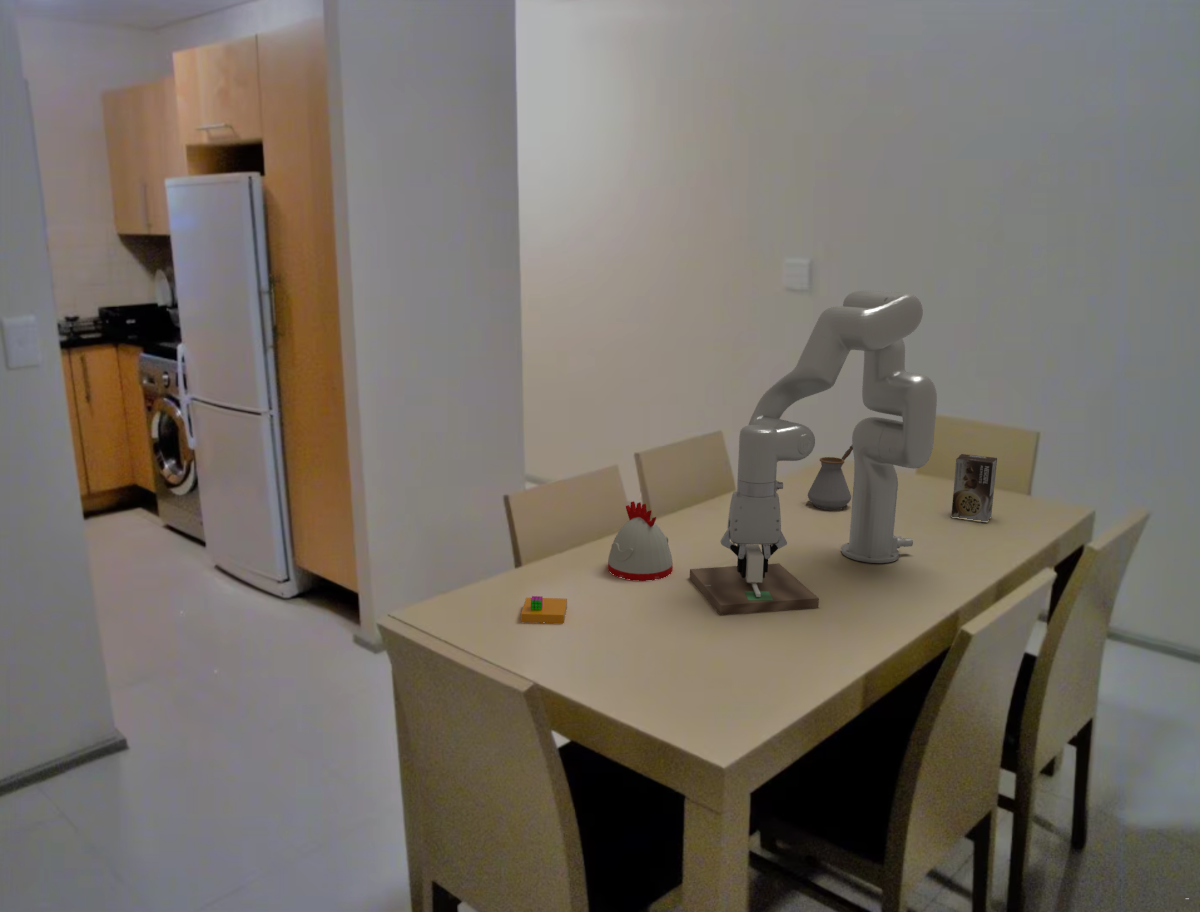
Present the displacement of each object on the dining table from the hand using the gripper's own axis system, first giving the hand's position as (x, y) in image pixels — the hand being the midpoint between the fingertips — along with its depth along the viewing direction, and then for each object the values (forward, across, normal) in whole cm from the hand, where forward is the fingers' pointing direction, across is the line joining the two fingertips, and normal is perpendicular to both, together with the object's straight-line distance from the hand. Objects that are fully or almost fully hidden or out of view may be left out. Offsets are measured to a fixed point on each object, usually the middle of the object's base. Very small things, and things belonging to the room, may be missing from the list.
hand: (752, 574), depth 185 cm
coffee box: (+4, -67, -52) cm, 85 cm away
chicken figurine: (+4, +22, -13) cm, 26 cm away
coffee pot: (+4, -36, -66) cm, 75 cm away
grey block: (+1, 0, +3) cm, 3 cm away
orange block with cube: (+4, +42, +12) cm, 43 cm away
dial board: (+4, 0, 0) cm, 4 cm away
